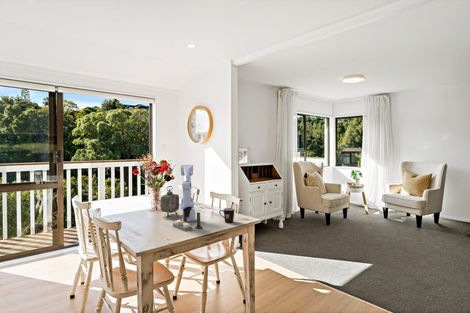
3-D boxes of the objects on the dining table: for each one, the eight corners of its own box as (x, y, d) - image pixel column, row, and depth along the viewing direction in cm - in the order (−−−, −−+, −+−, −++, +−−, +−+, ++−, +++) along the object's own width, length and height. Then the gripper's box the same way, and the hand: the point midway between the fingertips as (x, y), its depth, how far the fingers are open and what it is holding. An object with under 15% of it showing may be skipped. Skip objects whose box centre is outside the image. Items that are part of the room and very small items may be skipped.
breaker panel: (179, 224, 210) (179, 219, 210) (192, 229, 198) (192, 223, 198) (172, 226, 206) (172, 220, 205) (185, 231, 194) (185, 225, 194)
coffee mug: (237, 221, 216) (236, 209, 216) (228, 224, 210) (228, 211, 210) (226, 219, 225) (226, 206, 224) (218, 221, 219) (218, 208, 218)
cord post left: (185, 221, 217) (185, 207, 217) (189, 223, 214) (189, 208, 213) (180, 223, 214) (180, 208, 213) (184, 224, 210) (183, 209, 210)
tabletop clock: (168, 218, 228) (167, 187, 227) (159, 216, 232) (159, 186, 231) (179, 214, 241) (179, 185, 240) (171, 213, 245) (170, 184, 244)
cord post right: (199, 226, 205) (199, 211, 204) (203, 228, 201) (203, 212, 201) (193, 228, 201) (193, 212, 201) (197, 229, 198) (197, 214, 197)
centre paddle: (182, 223, 204) (182, 220, 204) (185, 224, 202) (185, 221, 201) (178, 224, 202) (178, 221, 202) (181, 225, 199) (181, 222, 199)
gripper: (187, 196, 212) (187, 214, 213) (176, 200, 199) (177, 219, 199) (195, 197, 210) (195, 215, 210) (185, 200, 196) (185, 220, 197)
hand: (187, 217), depth 205 cm, fingers closed
